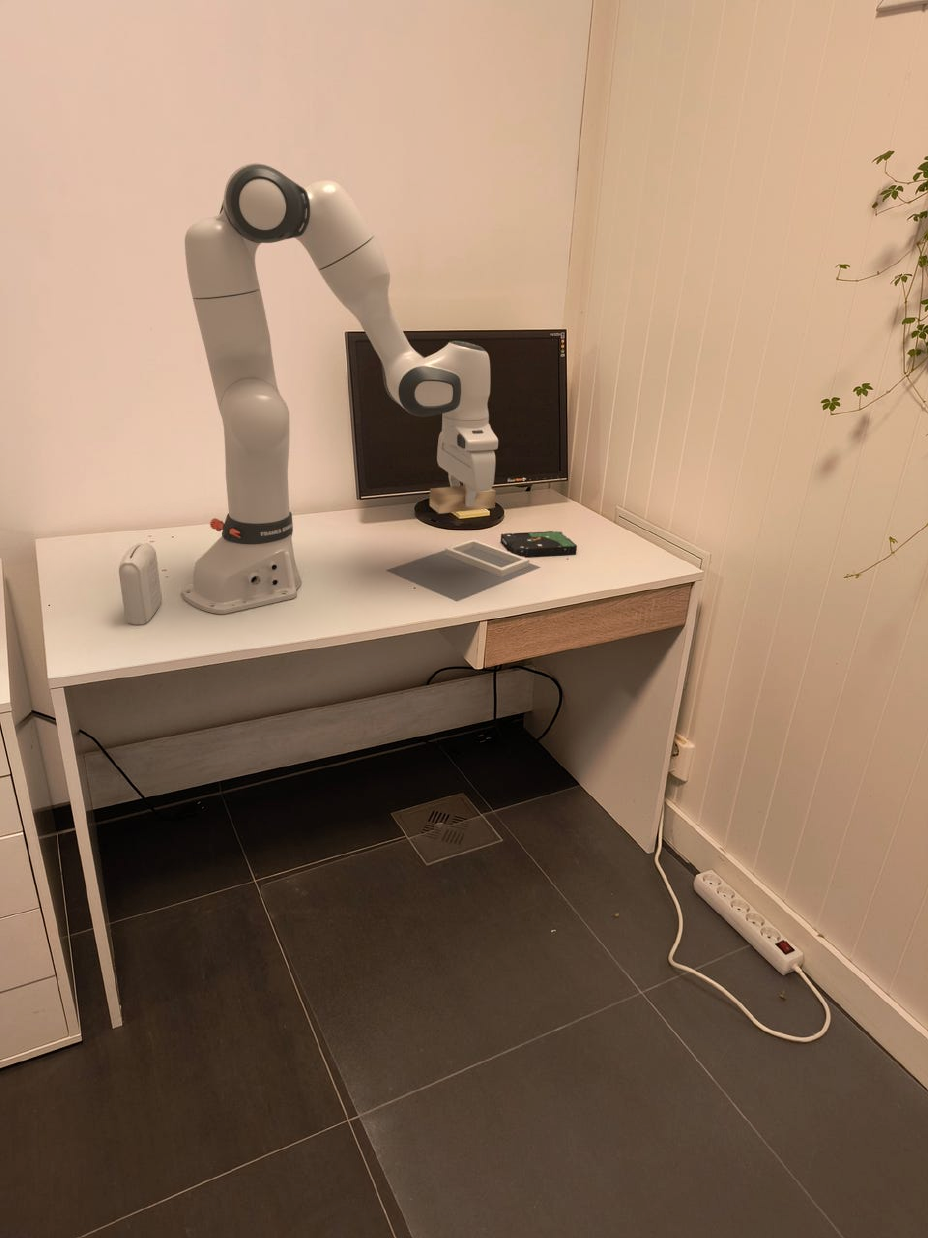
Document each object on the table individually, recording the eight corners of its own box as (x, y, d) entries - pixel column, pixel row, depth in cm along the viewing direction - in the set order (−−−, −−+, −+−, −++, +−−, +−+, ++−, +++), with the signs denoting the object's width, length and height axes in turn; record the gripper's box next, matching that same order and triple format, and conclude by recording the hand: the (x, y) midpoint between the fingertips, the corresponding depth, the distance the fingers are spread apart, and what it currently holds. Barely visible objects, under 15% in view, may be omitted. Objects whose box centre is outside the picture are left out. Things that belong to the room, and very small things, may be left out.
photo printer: (141, 600, 147) (132, 536, 142) (165, 601, 148) (157, 537, 142) (122, 625, 138) (112, 558, 133) (148, 626, 138) (139, 559, 133)
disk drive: (514, 561, 176) (577, 556, 180) (515, 549, 174) (578, 544, 178) (499, 544, 185) (559, 540, 188) (500, 533, 183) (560, 529, 187)
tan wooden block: (438, 513, 156) (439, 496, 154) (429, 505, 160) (429, 488, 158) (494, 507, 160) (495, 490, 159) (484, 500, 164) (485, 483, 163)
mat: (457, 603, 153) (457, 593, 152) (385, 572, 165) (385, 563, 164) (540, 568, 171) (541, 560, 170) (470, 543, 183) (471, 535, 182)
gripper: (430, 419, 161) (428, 486, 167) (470, 444, 144) (467, 518, 150) (459, 418, 163) (456, 484, 169) (502, 442, 146) (498, 514, 153)
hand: (462, 500), depth 160 cm, fingers closed on tan wooden block, 5 cm apart
